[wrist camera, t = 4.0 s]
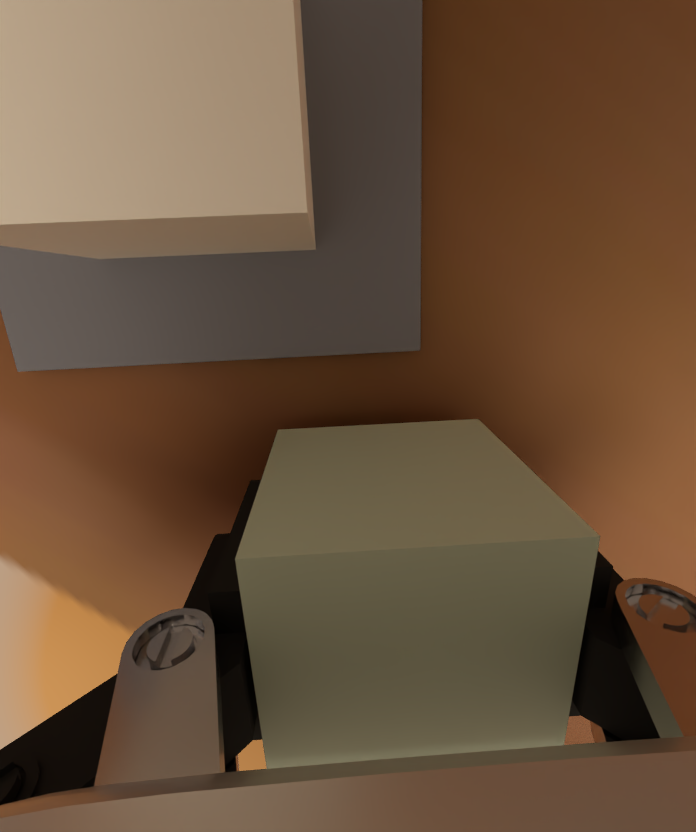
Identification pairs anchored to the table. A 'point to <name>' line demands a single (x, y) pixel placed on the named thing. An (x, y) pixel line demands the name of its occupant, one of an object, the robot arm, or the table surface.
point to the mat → (268, 271)
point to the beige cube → (154, 127)
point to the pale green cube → (410, 595)
